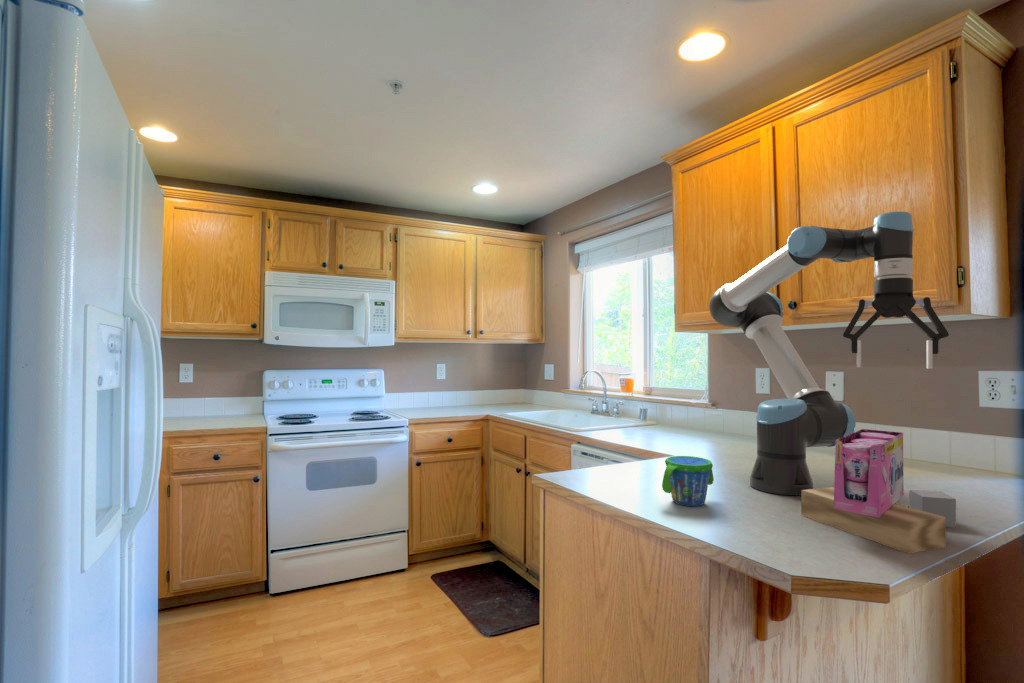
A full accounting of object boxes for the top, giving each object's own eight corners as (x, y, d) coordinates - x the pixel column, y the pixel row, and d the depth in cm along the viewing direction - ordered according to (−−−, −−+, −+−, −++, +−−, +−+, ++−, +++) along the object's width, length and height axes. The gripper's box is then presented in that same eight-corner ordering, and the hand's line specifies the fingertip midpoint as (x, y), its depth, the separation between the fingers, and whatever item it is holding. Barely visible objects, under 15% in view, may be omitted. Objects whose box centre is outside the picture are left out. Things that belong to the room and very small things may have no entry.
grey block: (922, 525, 112) (922, 496, 112) (909, 516, 118) (909, 489, 118) (955, 527, 111) (955, 499, 111) (941, 519, 116) (941, 491, 116)
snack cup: (679, 513, 119) (679, 467, 119) (647, 500, 128) (648, 458, 128) (729, 504, 125) (729, 461, 126) (696, 493, 135) (696, 453, 135)
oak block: (908, 555, 96) (908, 522, 96) (801, 517, 118) (801, 490, 118) (945, 549, 99) (945, 517, 100) (834, 512, 121) (834, 486, 121)
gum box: (879, 520, 97) (879, 446, 98) (830, 510, 103) (830, 440, 103) (904, 495, 114) (904, 432, 114) (861, 488, 120) (861, 428, 120)
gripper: (831, 279, 129) (831, 366, 129) (964, 273, 116) (965, 369, 116) (831, 283, 135) (831, 366, 135) (957, 277, 123) (957, 368, 122)
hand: (893, 368), depth 125 cm, fingers open, 13 cm apart
